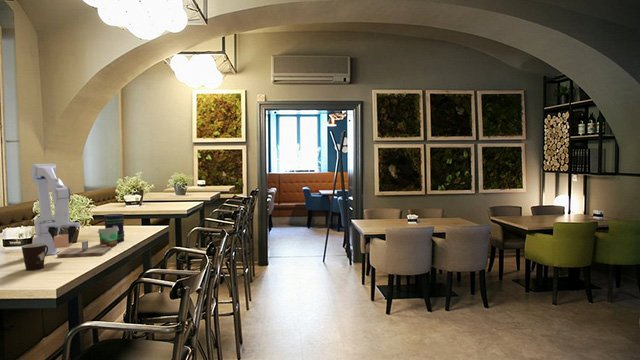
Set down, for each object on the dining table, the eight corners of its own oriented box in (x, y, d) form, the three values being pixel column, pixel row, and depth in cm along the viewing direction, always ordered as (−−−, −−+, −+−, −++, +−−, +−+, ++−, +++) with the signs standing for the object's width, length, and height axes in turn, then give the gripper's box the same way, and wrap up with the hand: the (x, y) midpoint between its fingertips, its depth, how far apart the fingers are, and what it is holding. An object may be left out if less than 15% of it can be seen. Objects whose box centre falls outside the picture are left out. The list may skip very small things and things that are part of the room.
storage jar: (128, 240, 253) (127, 213, 252) (116, 243, 243) (115, 216, 242) (113, 239, 255) (112, 213, 254) (101, 242, 245) (100, 215, 245)
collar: (54, 247, 201) (53, 236, 201) (59, 245, 207) (58, 234, 206) (67, 247, 202) (67, 236, 202) (72, 244, 208) (71, 234, 207)
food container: (109, 248, 229) (108, 229, 228) (98, 248, 230) (97, 229, 230) (124, 244, 241) (123, 225, 240) (114, 243, 242) (113, 225, 242)
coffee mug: (29, 272, 183) (27, 248, 182) (18, 269, 187) (17, 246, 187) (58, 266, 193) (57, 243, 192) (47, 263, 197) (46, 241, 197)
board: (57, 257, 210) (57, 254, 210) (68, 251, 224) (68, 248, 223) (102, 255, 213) (102, 252, 213) (111, 249, 227) (110, 246, 227)
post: (82, 250, 217) (81, 241, 217) (83, 250, 219) (83, 240, 219) (86, 250, 218) (86, 241, 217) (88, 249, 220) (87, 240, 219)
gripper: (40, 215, 198) (42, 245, 199) (76, 214, 201) (77, 244, 202) (47, 213, 205) (48, 242, 206) (81, 212, 208) (82, 241, 209)
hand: (63, 243), depth 204 cm, fingers closed on collar, 6 cm apart
